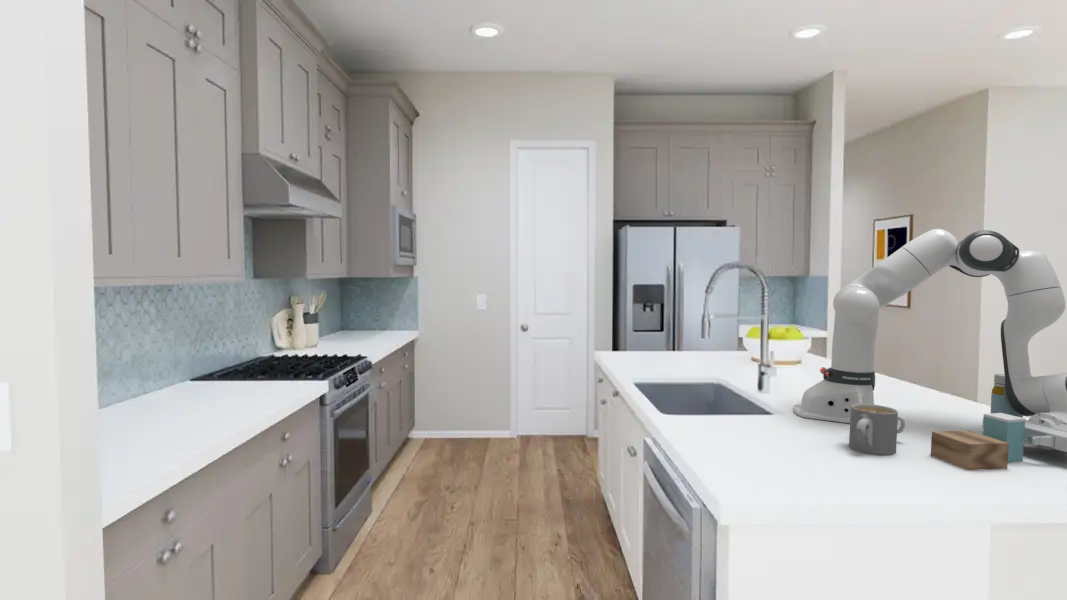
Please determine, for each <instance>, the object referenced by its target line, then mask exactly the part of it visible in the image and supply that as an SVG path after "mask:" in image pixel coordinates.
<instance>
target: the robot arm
mask: <svg viewBox="0 0 1067 600" xmlns="http://www.w3.org/2000/svg"><path fill="white" fill-rule="evenodd" d="M946 267H950V268H951V269H953V270H956V271H958V272H959V273H961V274H963V275H966V276H969V277H972V278H983V277H987V276H990V275H992V276H994V277H996V278H997V279H998V280H999V281H1000V282H1001V283H1000V284H1001V285H1002V287H1003V289H1004V293H1005V297H1006V300H1007V313H1006V317H1005V318H1004V319H1003V321H1001V324H1000V343H1001V352H1002V360H1003V372H1004V373H1003V374H1005V386H1004V398H1005V401H1006V403H1007V404H1008V405H1009V406H1010V407H1011V408H1012V409H1013V410H1014V411H1016V412H1017V413H1019V414H1021V415H1023V417H1029V418H1028V419H1026V421H1025V432H1024V442H1027V444H1029V445H1032V446H1033V445H1034V446H1037V447H1038V448H1040V449H1042V450H1046V451H1047V450H1048V451H1054V450H1056V451H1059V452H1065V453H1067V373H1056V374H1049V375H1040V376H1039V375H1038V376H1033V375H1032V373H1031V367H1030V366H1031V365H1030V356H1029V343H1030V340H1031V339H1032V338H1033V337H1034V336H1035V335H1036V334H1038V333H1039V332H1041V331H1042V330H1044V329H1046V328H1048V327H1050V326H1051V325H1052V324H1054V323H1056V321H1058V320H1059V319H1060V318H1061V317H1062V315H1063V314H1064V312H1065V310H1066V298H1065V295H1064V292H1063V287H1062V286H1061V283H1060V280H1059V278H1058V275H1057V273H1056V271H1055V269H1054V268H1053V267H1054V266H1053V265H1052V263H1051V262H1050V261H1049V259H1048V257H1047V256H1046V255H1045V254H1044V253H1043V252H1040V251H1038V250H1037V251H1036V250H1031V249H1029V250H1021V251H1020V249H1019V248H1018V247H1017V245H1015V244H1014V243H1012V242H1011V241H1010V240H1009V239H1007V237H1005V236H1004V235H1002V234H1001V233H1000V232H997V231H994V230H990V229H989V230H987V229H985V230H978V231H974V232H972V233H970V234H969V235H967V236H965V238H958V237H956V236H954V235H953V234H952V232H949V231H948V230H945V229H943V228H934V229H930V230H928V231H926V232H924V233H921V235H918V236H916V237H915V238H913V239H912V240H910V241H908V242H907V243H905V244H904V245H902V246H901V247H900V248H898V249H897V250H896V251H894V252H893V253H891V254H890V255H889V256H887V257H885V259H883V260H882V261H880V262H878V263H877V264H876V265H875V266H873V267H872V268H871V269H870V268H869V270H867V271H866V272H864V273H862V275H861V274H860V276H859V277H857V278H855V279H854V280H853V281H851V282H849V283H848V284H847V285H845V286H844V287H843V288H841V289H839V290H838V291H837V292H836V294H835V296H834V297H833V301H832V306H833V309H834V323H833V335H832V341H831V342H832V343H831V345H832V346H831V365H830V367H828V368H826V367H824V366H823V367H821V368H820V369H819V372H820V373H821V374H822V375H823V380H821V381H819V382H817V383H816V384H814V385H812V386H810V387H809V388H807V389H806V390H805V391H804V392H803V395H802V397H801V402H800V404H796V405H795V404H794V406H793V407H792V411H793V412H794V414H795V415H796V416H799V417H800V418H801V417H802V418H806V419H813V420H820V421H821V420H822V421H828V422H837V423H846V424H850V415H851V405H854V404H873V405H875V398H874V391H875V386H876V372H875V371H874V368H875V366H874V364H875V350H876V340H877V339H876V338H877V334H878V323H879V316H880V310H881V309H882V308H884V307H886V306H887V305H889V304H891V303H893V302H894V301H896V300H898V299H899V298H901V297H902V296H904V295H906V294H907V293H909V292H910V291H912V290H913V289H915V288H917V286H919V285H920V284H922V283H924V282H925V281H926V280H928V279H930V278H931V277H932V276H933V275H935V274H936V273H938V272H939V271H941V270H942V269H945V268H946ZM981 424H982V426H983V424H984V416H983V417H982V423H981Z"/></svg>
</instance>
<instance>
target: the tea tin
mask: <svg viewBox="0 0 1067 600" xmlns="http://www.w3.org/2000/svg"><path fill="white" fill-rule="evenodd" d="M983 417H984V424H983V425H982V430H983V431H982V435H985V436H988V437H991V438H994V439H997V440H1001V441H1004V442H1007V443H1009V450H1008V463H1014V462H1015V463H1016V462H1022V461H1023V459H1024V447H1025V446H1024V444H1025V441H1024V432H1025V421H1026V420H1027V418H1025V417H1023V418H1021V417H1017V416H1013V415H1008V414H1004V413H991V412H990V413H983Z"/></svg>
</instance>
